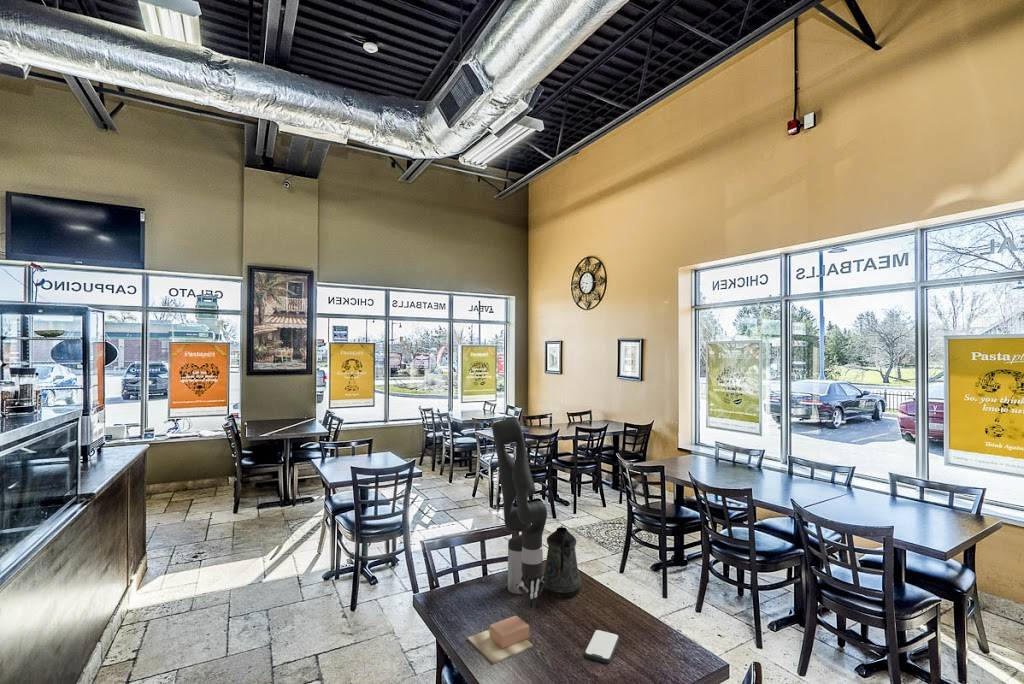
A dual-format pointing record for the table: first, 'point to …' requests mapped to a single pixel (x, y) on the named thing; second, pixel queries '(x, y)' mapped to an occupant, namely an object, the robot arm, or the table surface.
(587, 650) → the phone case
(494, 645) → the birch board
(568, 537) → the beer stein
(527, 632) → the salmon pink block
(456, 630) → the table surface
